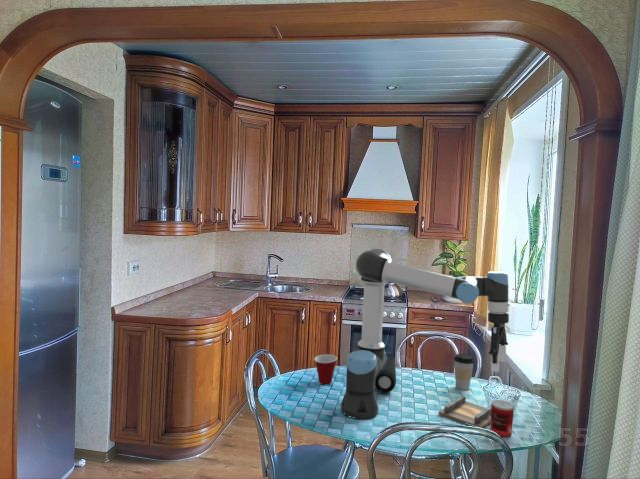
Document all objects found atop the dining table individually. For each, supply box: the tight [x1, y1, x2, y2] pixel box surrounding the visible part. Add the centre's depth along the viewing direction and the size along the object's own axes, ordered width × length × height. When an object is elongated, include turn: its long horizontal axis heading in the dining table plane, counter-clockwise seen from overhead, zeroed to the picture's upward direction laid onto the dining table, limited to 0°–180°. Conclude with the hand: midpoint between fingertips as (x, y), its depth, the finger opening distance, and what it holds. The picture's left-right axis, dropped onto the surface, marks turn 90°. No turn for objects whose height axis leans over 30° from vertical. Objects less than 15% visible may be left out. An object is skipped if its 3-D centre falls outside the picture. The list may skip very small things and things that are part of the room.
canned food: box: [489, 399, 515, 438], centre depth 176 cm, size 8×8×11 cm
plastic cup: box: [313, 353, 338, 385], centre depth 219 cm, size 11×11×12 cm
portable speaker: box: [375, 356, 397, 393], centre depth 221 cm, size 26×10×10 cm, turn 172°
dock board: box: [438, 395, 492, 429], centre depth 190 cm, size 18×18×4 cm
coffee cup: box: [453, 353, 476, 391], centre depth 219 cm, size 9×9×15 cm
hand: (498, 366), depth 182 cm, fingers open, 13 cm apart
